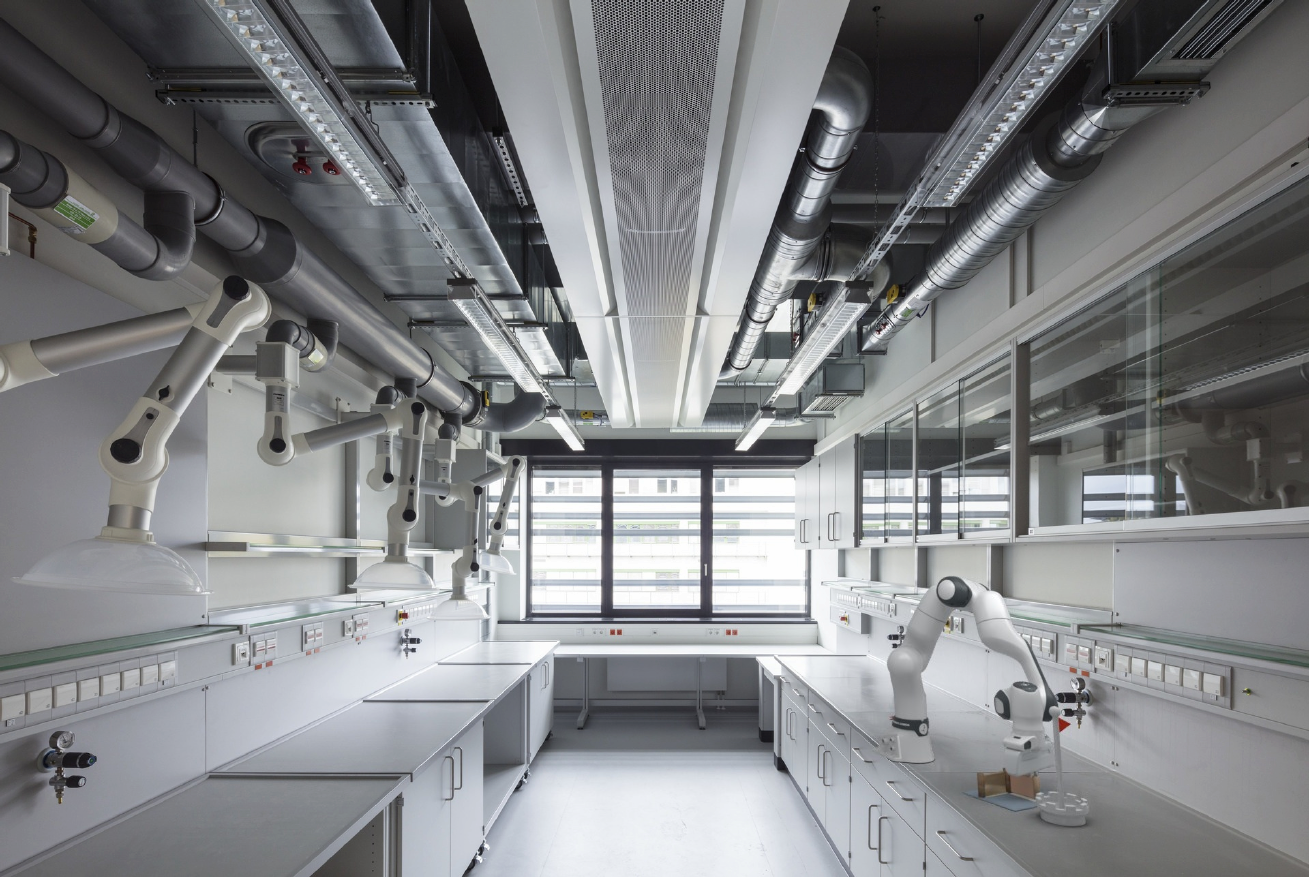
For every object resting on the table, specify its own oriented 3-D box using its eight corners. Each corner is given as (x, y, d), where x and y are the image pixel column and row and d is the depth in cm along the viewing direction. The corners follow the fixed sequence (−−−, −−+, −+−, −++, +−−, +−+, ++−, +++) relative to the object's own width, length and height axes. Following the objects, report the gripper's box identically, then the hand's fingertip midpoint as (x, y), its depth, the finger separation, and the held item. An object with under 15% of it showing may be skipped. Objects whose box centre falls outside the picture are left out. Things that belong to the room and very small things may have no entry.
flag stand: (1061, 829, 208) (1052, 712, 212) (1026, 813, 221) (1018, 703, 225) (1101, 824, 212) (1092, 709, 216) (1064, 809, 224) (1056, 700, 228)
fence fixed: (976, 795, 235) (975, 772, 236) (1007, 789, 241) (1005, 767, 242) (982, 797, 233) (981, 774, 234) (1013, 791, 239) (1011, 769, 240)
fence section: (1014, 790, 238) (1012, 770, 239) (1041, 798, 231) (1040, 777, 232) (1010, 791, 237) (1009, 770, 238) (1038, 799, 230) (1036, 778, 231)
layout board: (962, 792, 239) (962, 791, 239) (1016, 782, 249) (1016, 781, 249) (1015, 811, 222) (1015, 810, 222) (1070, 799, 232) (1070, 798, 232)
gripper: (1039, 731, 245) (1042, 777, 243) (999, 741, 234) (1002, 789, 233) (1058, 735, 240) (1062, 782, 238) (1018, 745, 229) (1022, 795, 227)
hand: (1032, 786), depth 235 cm, fingers closed
